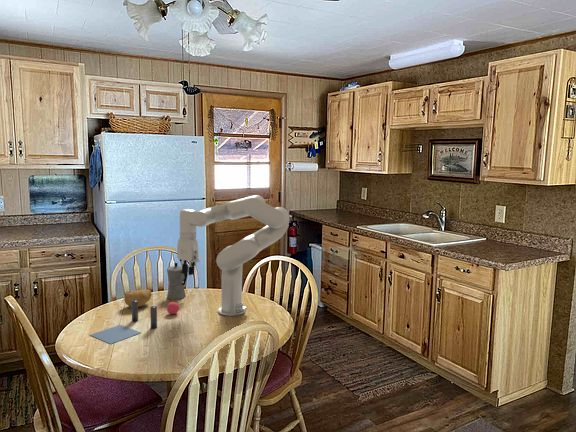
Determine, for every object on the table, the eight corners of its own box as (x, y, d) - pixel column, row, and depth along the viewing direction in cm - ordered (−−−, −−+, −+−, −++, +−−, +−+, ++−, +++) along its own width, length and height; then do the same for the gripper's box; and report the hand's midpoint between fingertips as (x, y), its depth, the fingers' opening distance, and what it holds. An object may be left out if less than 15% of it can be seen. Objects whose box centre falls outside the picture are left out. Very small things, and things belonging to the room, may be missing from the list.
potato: (156, 304, 217) (156, 288, 216) (132, 312, 206) (132, 295, 205) (143, 300, 223) (143, 285, 222) (119, 308, 211) (119, 291, 210)
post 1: (139, 320, 196) (139, 300, 195) (134, 322, 194) (134, 302, 193) (135, 319, 197) (135, 299, 196) (130, 320, 195) (130, 301, 194)
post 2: (158, 327, 189) (158, 306, 188) (153, 329, 187) (153, 308, 186) (154, 325, 190) (154, 305, 189) (149, 327, 188) (149, 307, 187)
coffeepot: (160, 296, 230) (160, 262, 228) (175, 292, 238) (175, 259, 235) (179, 302, 221) (179, 267, 219) (194, 298, 228) (194, 264, 226)
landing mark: (141, 332, 182) (141, 332, 182) (110, 344, 171) (110, 343, 171) (120, 325, 190) (120, 324, 190) (89, 335, 179) (89, 334, 179)
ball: (181, 313, 206) (181, 302, 205) (172, 316, 201) (172, 305, 201) (173, 311, 209) (173, 299, 208) (164, 314, 204) (164, 302, 204)
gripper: (169, 234, 210) (170, 272, 212) (194, 239, 201) (194, 278, 203) (181, 232, 216) (182, 269, 218) (206, 236, 207) (206, 275, 209)
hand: (188, 273), depth 211 cm, fingers open, 3 cm apart
